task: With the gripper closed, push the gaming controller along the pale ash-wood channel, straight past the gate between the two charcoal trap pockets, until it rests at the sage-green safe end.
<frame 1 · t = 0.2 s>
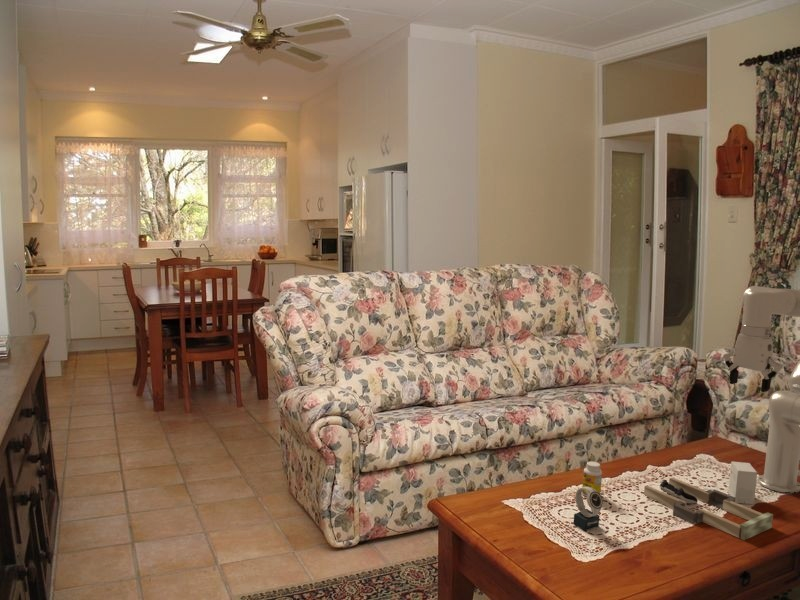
hand: (748, 387, 210), 36 cm above the table, tool pointing down, fingers open, 9 cm apart
small box: (740, 499, 218), on the table
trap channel: (703, 510, 209), on the table
watch: (586, 526, 197), on the table
gaming controller: (676, 499, 217), on the table
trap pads: (703, 510, 209), on the table
supplement bottle: (591, 495, 217), on the table
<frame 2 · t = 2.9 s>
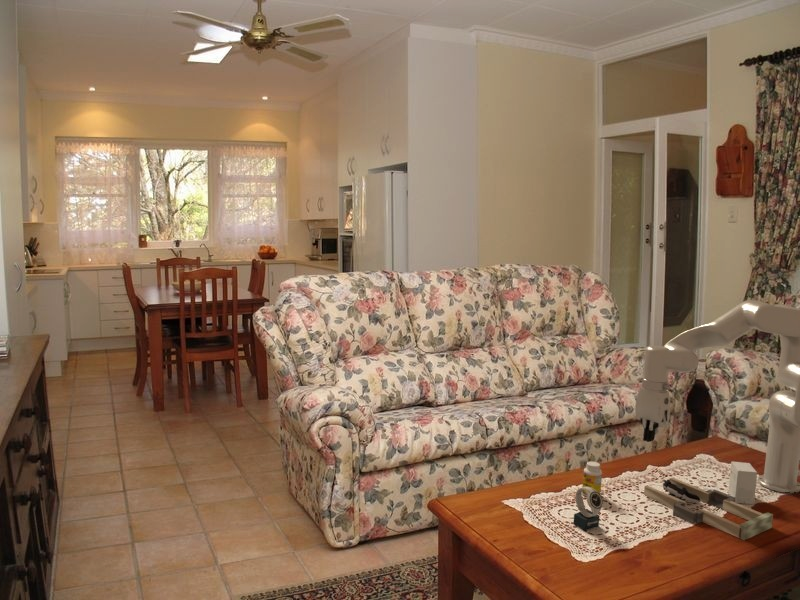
hand: (648, 440, 223), 15 cm above the table, tool pointing down, fingers closed
gaming controller: (679, 499, 217), on the table
everything else where it was.
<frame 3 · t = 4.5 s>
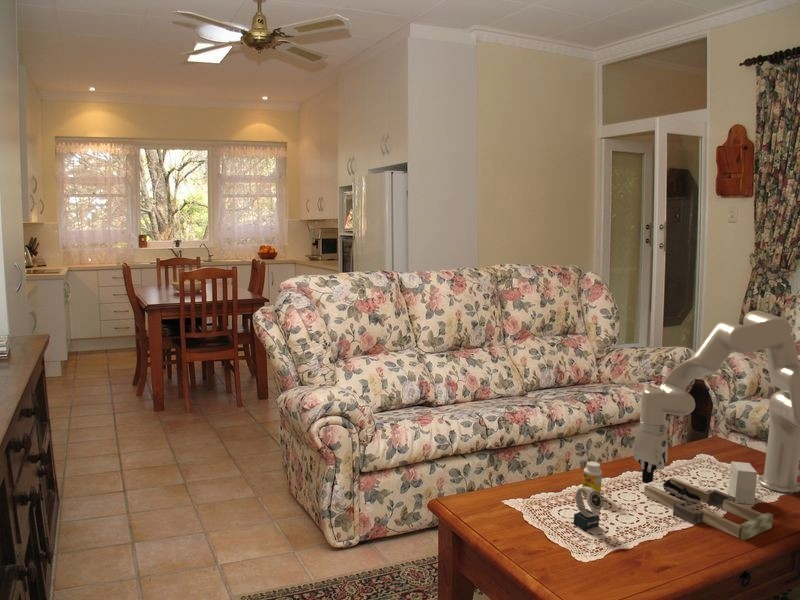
hand: (647, 481, 225), 1 cm above the table, tool pointing down, fingers closed
nothing on the table moved.
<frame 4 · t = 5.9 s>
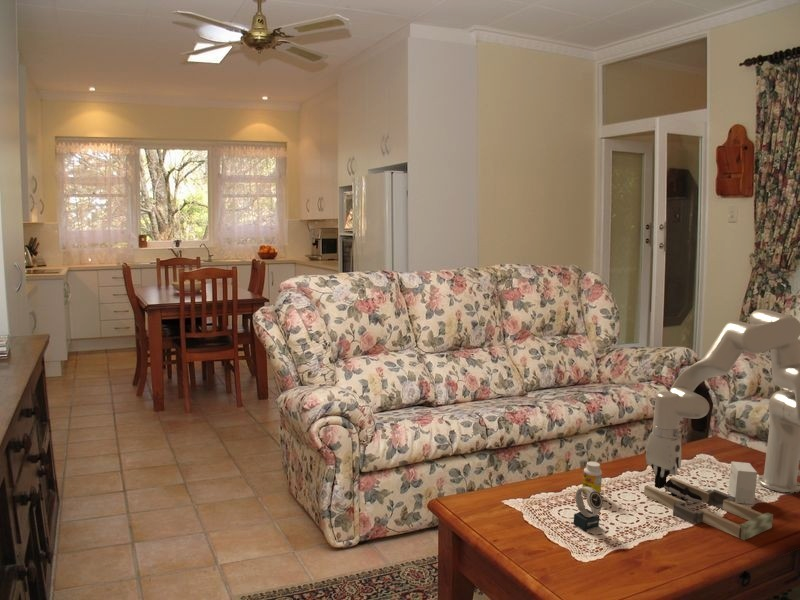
hand: (659, 486, 221), 2 cm above the table, tool pointing down, fingers closed
gaming controller: (680, 499, 217), on the table, touching gripper
everything else where it was.
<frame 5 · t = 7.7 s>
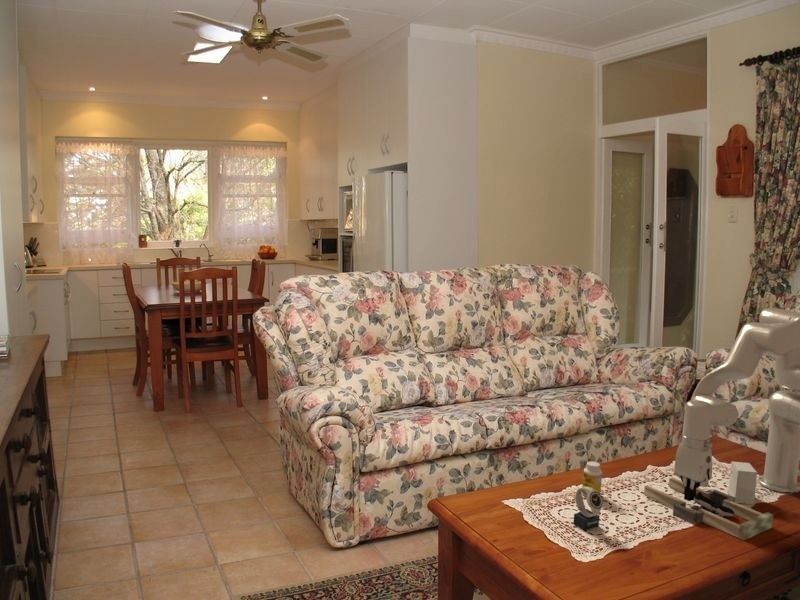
hand: (689, 499, 212), 2 cm above the table, tool pointing down, fingers closed
gaming controller: (711, 512, 208), on the table, touching gripper
everything else where it was.
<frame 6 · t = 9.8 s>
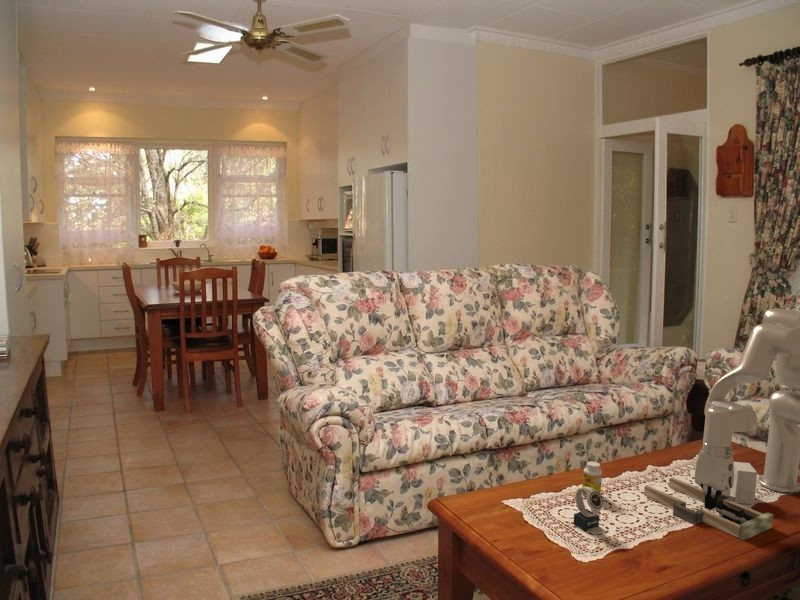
hand: (710, 508, 207), 2 cm above the table, tool pointing down, fingers closed
gaming controller: (733, 521, 203), on the table, touching gripper
everything else where it was.
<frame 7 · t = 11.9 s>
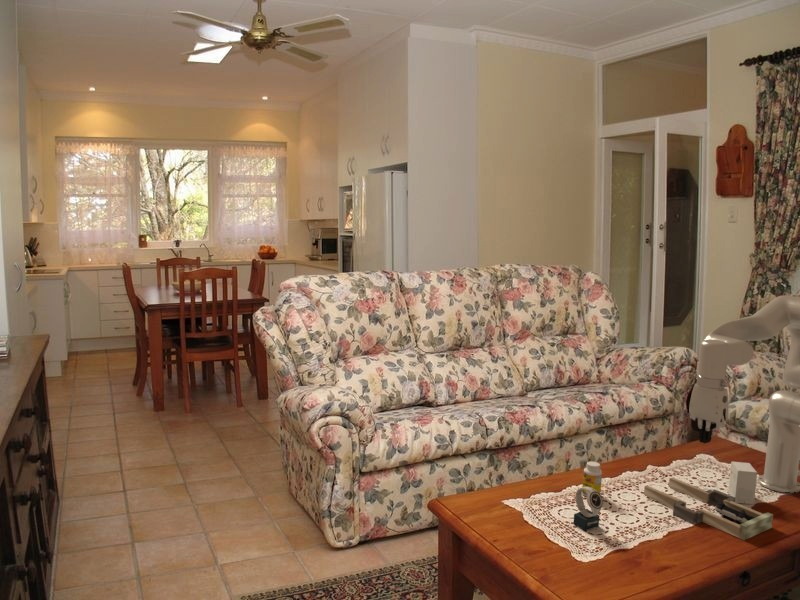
hand: (704, 441, 207), 21 cm above the table, tool pointing down, fingers closed
gaming controller: (734, 521, 203), on the table
everything else where it was.
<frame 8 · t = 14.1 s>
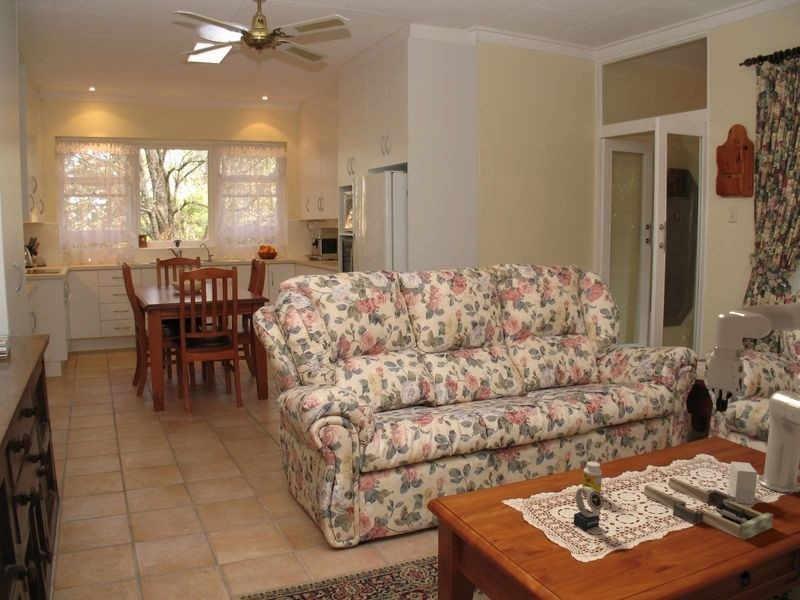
hand: (721, 410, 217), 27 cm above the table, tool pointing down, fingers closed
nothing on the table moved.
at the end: gaming controller inside the target area on the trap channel (2.0 cm from its centre), point 0.0 cm above the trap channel's base; gaming controller moved 18.0 cm from its start; gaming controller tilted 0° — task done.
